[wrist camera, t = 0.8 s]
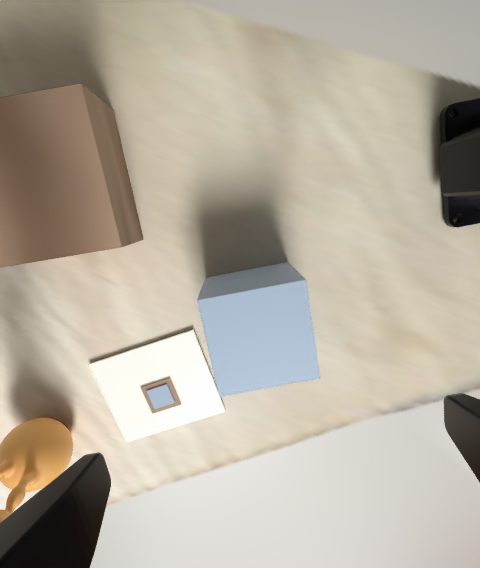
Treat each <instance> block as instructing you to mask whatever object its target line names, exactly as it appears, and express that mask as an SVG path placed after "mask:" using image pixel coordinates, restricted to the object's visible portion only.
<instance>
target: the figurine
mask: <svg viewBox="0 0 480 568" xmlns="http://www.w3.org/2000/svg"><path fill="white" fill-rule="evenodd" d="M72 451H73V441H72V436H71V434H70V432H69V430H68V429H67V427H66V426H65V425H64V424H62V423H61V422H59V421H57V420H55V419H51V418H36V419H32V420H29V421H26V422H24V423H22V424H20V425H18V426H17V427H16V428H14V429H13V430H12V431H11V432H10V433H9V434H8V435H7V436H6V437H5V438H4V440H3V441H2V443H1V444H0V481H1V482H2V483H3V484H4V485H5V486H6V487H8V488H10V489H12V491H11V492H10V494H9V496H8V498H7V504H6V509H5V510H0V523H1V522H2V521H3V520H4V519H6V518H7V517H8V516H9V515H11V514H12V513H13V511H14V509H15V508H16V507H17V506H18V505H19V504H20V503H21V502H22V500H23V499H24V496H25V492H30V491H35V490H38V489H41V488H43V487H45V486H47V485H48V484H49V483H50V482H52V481H53V480H54V479H55V478H57V477H58V476H59V475H60V474H62V473H63V471H64V470H65V469H66V467H67V465H68V463H69V461H70V459H71V456H72Z"/></svg>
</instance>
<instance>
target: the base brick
mask: <svg viewBox="0 0 480 568" xmlns="http://www.w3.org/2000/svg"><path fill="white" fill-rule="evenodd" d="M141 240H143V235H142V231H141V227H140V222H139V218H138V214H137V210H136V205H135V201H134V197H133V192H132V188H131V184H130V179H129V175H128V171H127V166H126V162H125V158H124V154H123V149H122V145H121V141H120V136H119V132H118V128H117V123H116V119H115V115H114V110H113V109H112V108H111V107H110V106H108V105H107V104H106V103H105V102H103V101H102V100H101V99H100V98H99V97H97V96H96V95H95V94H94V93H92V92H91V91H90V90H89V89H87V88H86V87H85V86H84V85H83V84H81V83H80V84H74V85H69V86H63V87H57V88H52V89H46V90H40V91H35V92H29V93H24V94H18V95H12V96H7V97H1V98H0V268H1V267H7V266H13V265H19V264H25V263H31V262H36V261H42V260H48V259H54V258H60V257H66V256H72V255H78V254H84V253H90V252H96V251H102V250H108V249H114V248H120V247H124V246H127V245H129V244H132V243H135V242H138V241H141Z"/></svg>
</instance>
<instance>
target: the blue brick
mask: <svg viewBox="0 0 480 568" xmlns="http://www.w3.org/2000/svg"><path fill="white" fill-rule="evenodd" d="M197 302H198V306H199V311H200V315H201V319H202V324H203V328H204V332H205V337H206V341H207V345H208V350H209V354H210V358H211V363H212V367H213V371H214V376H215V380H216V384H217V389H218V393H219V397H221V396H227V395H232V394H238V393H243V392H249V391H254V390H260V389H265V388H271V387H276V386H282V385H287V384H293V383H298V382H304V381H309V380H315V379H320V372H319V366H318V359H317V352H316V345H315V339H314V332H313V325H312V318H311V311H310V305H309V298H308V291H307V284H306V279H305V278H304V277H303V276H302V275H301V274H300V273H299V272H298V271H297V270H296V269H295V268H294V267H293V266H292V265H291V264H290V263H289V262H285V263H279V264H274V265H269V266H264V267H259V268H253V269H248V270H243V271H238V272H233V273H227V274H222V275H217V276H212V277H206V279H205V281H204V284H203V287H202V289H201V292H200V294H199V297H198V299H197Z"/></svg>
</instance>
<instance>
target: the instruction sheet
mask: <svg viewBox="0 0 480 568" xmlns="http://www.w3.org/2000/svg"><path fill="white" fill-rule="evenodd" d="M89 367H90V369H91V371H92V373H93V375H94V377H95V379H96V381H97V384H98V386H99V388H100V390H101V392H102V394H103V396H104V398H105V400H106V402H107V404H108V406H109V408H110V410H111V412H112V414H113V416H114V418H115V420H116V422H117V424H118V426H119V428H120V430H121V432H122V434H123V436H124V438H125V440H126V442H130V441H133V440H136V439H139V438H142V437H146V436H149V435H152V434H155V433H158V432H162V431H165V430H168V429H171V428H174V427H177V426H181V425H184V424H187V423H190V422H193V421H197V420H200V419H203V418H206V417H209V416H212V415H216V414H219V413H222V412H225V407H224V405H223V402H222V400H221V397H219V393H218V390H217V387H216V385H215V382H214V380H213V377H212V375H211V372H210V370H209V367H208V365H207V362H206V359H205V357H204V354H203V352H202V349H201V347H200V344H199V342H198V339H197V337H196V334H195V332H194V329H192V330H189V331H186V332H183V333H180V334H177V335H174V336H171V337H168V338H165V339H162V340H159V341H156V342H153V343H150V344H147V345H144V346H141V347H138V348H135V349H132V350H129V351H126V352H123V353H120V354H117V355H114V356H111V357H108V358H104V359H101V360H98V361H95V362H92V363H90V364H89Z"/></svg>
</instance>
